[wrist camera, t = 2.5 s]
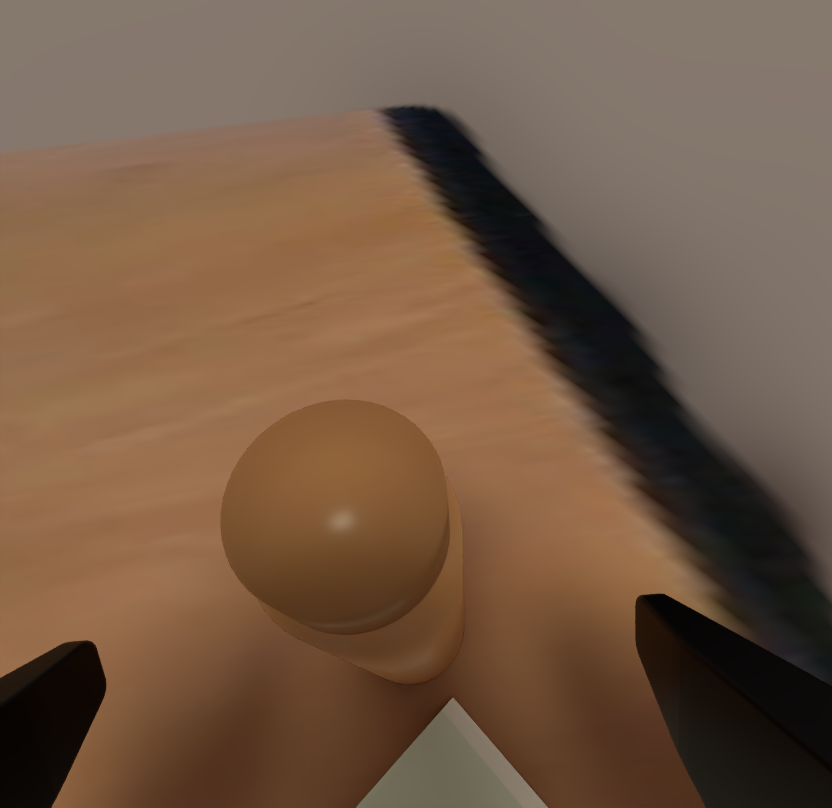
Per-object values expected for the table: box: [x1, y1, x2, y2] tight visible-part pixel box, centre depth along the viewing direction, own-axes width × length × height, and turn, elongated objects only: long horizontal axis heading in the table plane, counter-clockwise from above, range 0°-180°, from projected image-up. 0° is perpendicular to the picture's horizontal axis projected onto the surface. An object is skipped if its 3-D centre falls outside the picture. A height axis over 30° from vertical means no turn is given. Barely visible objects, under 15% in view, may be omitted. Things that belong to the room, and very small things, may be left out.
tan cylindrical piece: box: [220, 400, 464, 684], centre depth 12 cm, size 4×4×12 cm
